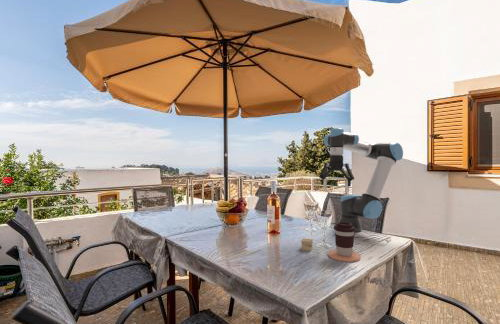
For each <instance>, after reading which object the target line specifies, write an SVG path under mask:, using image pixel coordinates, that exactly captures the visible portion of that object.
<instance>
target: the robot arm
mask: <svg viewBox="0 0 500 324" xmlns="http://www.w3.org/2000/svg"><path fill="white" fill-rule="evenodd" d="M323 144H324V145H325V146H326V147H329V162H324V166H323V168H322V170H321V173H320V174H319V175H318V177H319V179H321V184H322V185H323V191H327V185H328V184H327V181H328V179H327V178H328V176H329V175H330V174H331V173H332V171H333V172H335V171H337V172H340V173H341V174H342V175H343V176H344V177H345V179H346V180H345V193H350V187H351V186H352V181H354V180H355V177H354V174H353V173H352V171H351V169H350V163H347V162H346V163H344V150H345V151H349V152H353V153H356V154H360V156H362V157H365V158H369V159H372V160H377V164H376V167H375V168H374V170H373V173H372V176H371V179H370V180H369V183H368V186H367V189H366V191H365V192H364V193H362V194H361V196H360V195H359V194H351V195H350V194H349V195H341V197H340V217H339V220H338V222H347V223H351V224H352V226H354V227H355V232H354V233H359V232H361V231H362V223H361V221H360V217H362V218H366V219H372V220H374V219H378V217H379V216H380V215H381V214H382V212H383V205H382V202H381V201H382V200H381V198H380V197H381V194H382V192H383V189H384V187H385V185H386V182H387V179H388V176H389V175H390V171H391V168H392V166H395V165H396V163H397V161H401V160H402V159H403V156H404V149H403V146H402V145H401V144H400V143H398V142H393V141H391V142H376V143H375V142H374V143H369V142H364V143H363V142H361V141H360V137H359V135H358V134H357V133H354V132H345V131H344V128H341V127H339V128H338V127H337V128H331V129H330V132H329V134H327V135H324V138H323ZM344 168H345V169H344ZM327 169H328V170H327Z"/></svg>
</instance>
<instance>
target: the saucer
mask: <svg viewBox="0 0 500 324" xmlns="http://www.w3.org/2000/svg"><path fill="white" fill-rule="evenodd" d="M327 252H328V253H327V255H328V258H330V259H332V260H334V261H338V262H344V263H354V262H359V261H360V260H361V257H362V256H361V254H360V253H358V252H356V251H354V250H352V255H351V256H341V255H338V254H337V252H336V248H335V249H330V250H328V251H327Z"/></svg>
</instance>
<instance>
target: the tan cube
mask: <svg viewBox="0 0 500 324" xmlns="http://www.w3.org/2000/svg"><path fill="white" fill-rule="evenodd" d="M300 243H301V244H300V245H301V251H308V252H312V250H313V238H308V237H307V238H304V237H303V238H302V239H301V242H300Z"/></svg>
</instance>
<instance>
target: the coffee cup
mask: <svg viewBox="0 0 500 324" xmlns="http://www.w3.org/2000/svg"><path fill="white" fill-rule="evenodd" d="M333 230H334V239H335V240H334V241H335V249H336V252H337V254H338V255H341V256H351V255H352V251H354V250H353V249H354V248H353V247H354V244H355V242H354V241H355V233H356V232H355V227H354V226H352V224H351V223H347V222H339V221H338V222H337V223H336V224H335V225H333Z"/></svg>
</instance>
